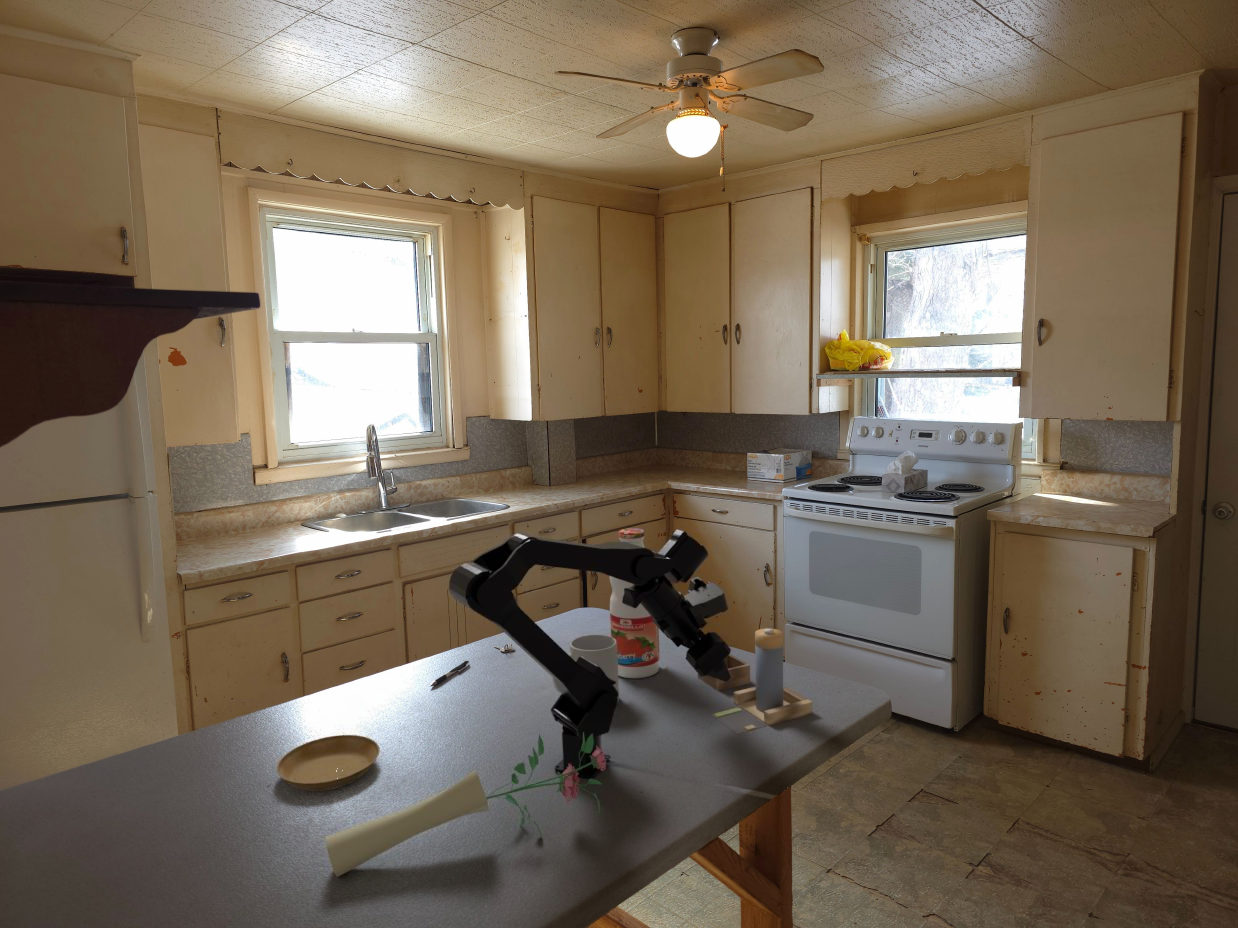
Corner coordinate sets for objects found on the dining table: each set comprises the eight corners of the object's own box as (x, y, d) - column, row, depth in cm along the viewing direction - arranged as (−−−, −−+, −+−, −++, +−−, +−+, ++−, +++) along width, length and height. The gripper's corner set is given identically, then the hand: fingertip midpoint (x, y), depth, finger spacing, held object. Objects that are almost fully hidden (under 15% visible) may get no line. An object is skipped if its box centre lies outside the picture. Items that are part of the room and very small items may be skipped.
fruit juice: (667, 665, 159) (663, 527, 156) (647, 682, 151) (642, 537, 147) (625, 658, 164) (620, 524, 160) (603, 675, 155) (598, 533, 152)
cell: (779, 715, 134) (778, 635, 132) (752, 710, 136) (751, 632, 134) (786, 704, 138) (785, 627, 136) (760, 700, 140) (759, 624, 138)
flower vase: (356, 909, 102) (606, 792, 113) (351, 946, 90) (630, 811, 101) (327, 818, 103) (578, 711, 114) (319, 843, 91) (599, 721, 102)
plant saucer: (399, 754, 127) (398, 739, 126) (343, 805, 113) (342, 787, 112) (319, 745, 131) (317, 730, 130) (255, 793, 117) (254, 776, 116)
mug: (609, 688, 149) (607, 631, 148) (626, 705, 141) (624, 645, 140) (547, 700, 145) (544, 641, 143) (561, 719, 137) (559, 657, 136)
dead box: (718, 693, 145) (717, 672, 144) (697, 680, 151) (697, 660, 151) (750, 685, 148) (749, 664, 147) (729, 673, 154) (728, 653, 154)
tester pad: (737, 737, 128) (737, 732, 128) (710, 717, 135) (710, 713, 135) (767, 728, 131) (767, 724, 130) (739, 710, 138) (739, 706, 138)
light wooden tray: (768, 728, 131) (768, 713, 130) (733, 706, 140) (733, 691, 139) (812, 716, 134) (812, 701, 134) (776, 695, 143) (775, 681, 143)
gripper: (729, 593, 119) (780, 659, 125) (679, 550, 136) (726, 610, 142) (672, 643, 118) (727, 707, 124) (629, 593, 135) (679, 652, 141)
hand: (715, 665), depth 133 cm, fingers open, 9 cm apart
